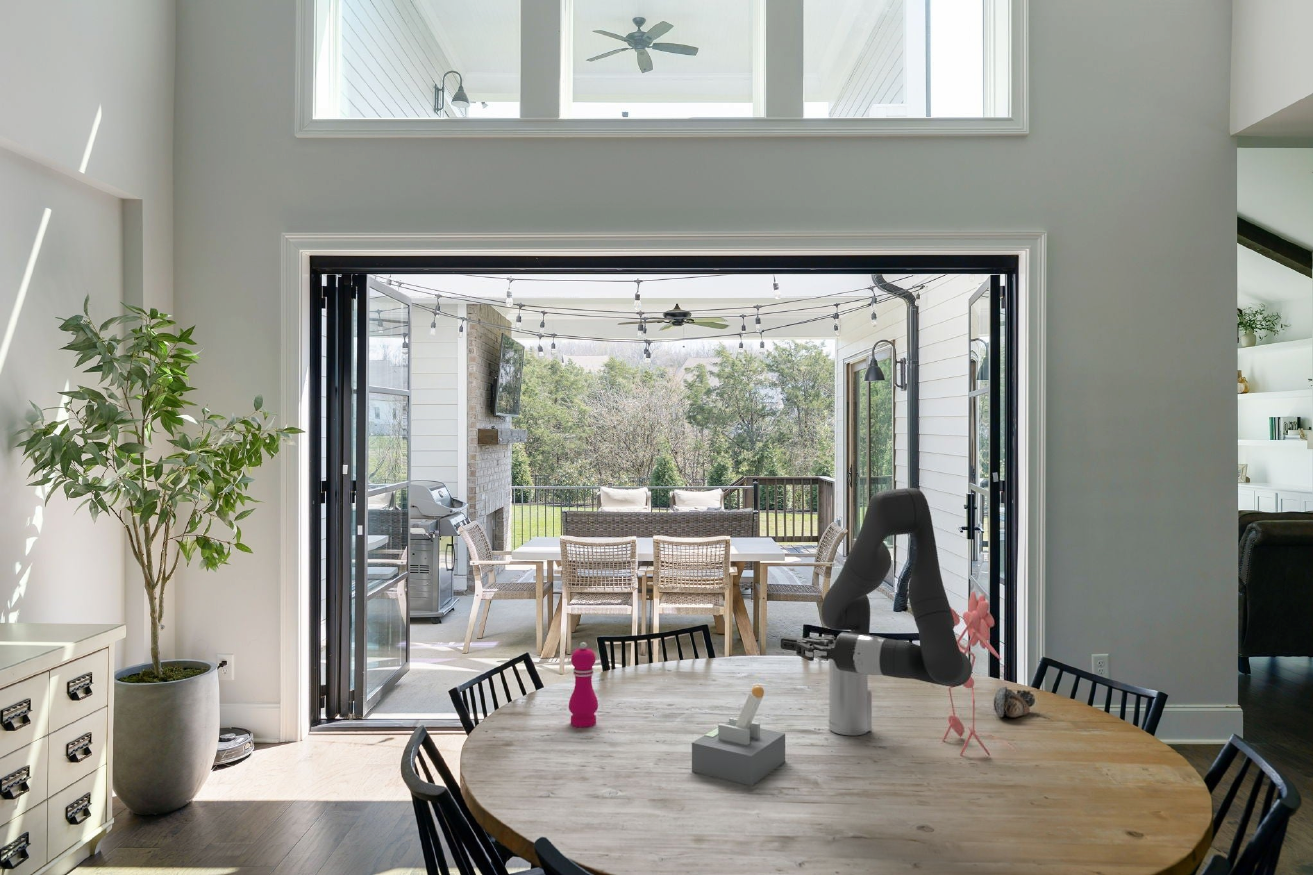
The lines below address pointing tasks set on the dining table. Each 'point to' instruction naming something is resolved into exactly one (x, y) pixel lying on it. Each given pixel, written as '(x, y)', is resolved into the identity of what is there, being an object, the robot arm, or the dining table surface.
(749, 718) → the lever
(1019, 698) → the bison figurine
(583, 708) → the pepper mill
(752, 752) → the box
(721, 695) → the dining table surface
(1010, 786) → the dining table surface
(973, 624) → the pink flower figurine
